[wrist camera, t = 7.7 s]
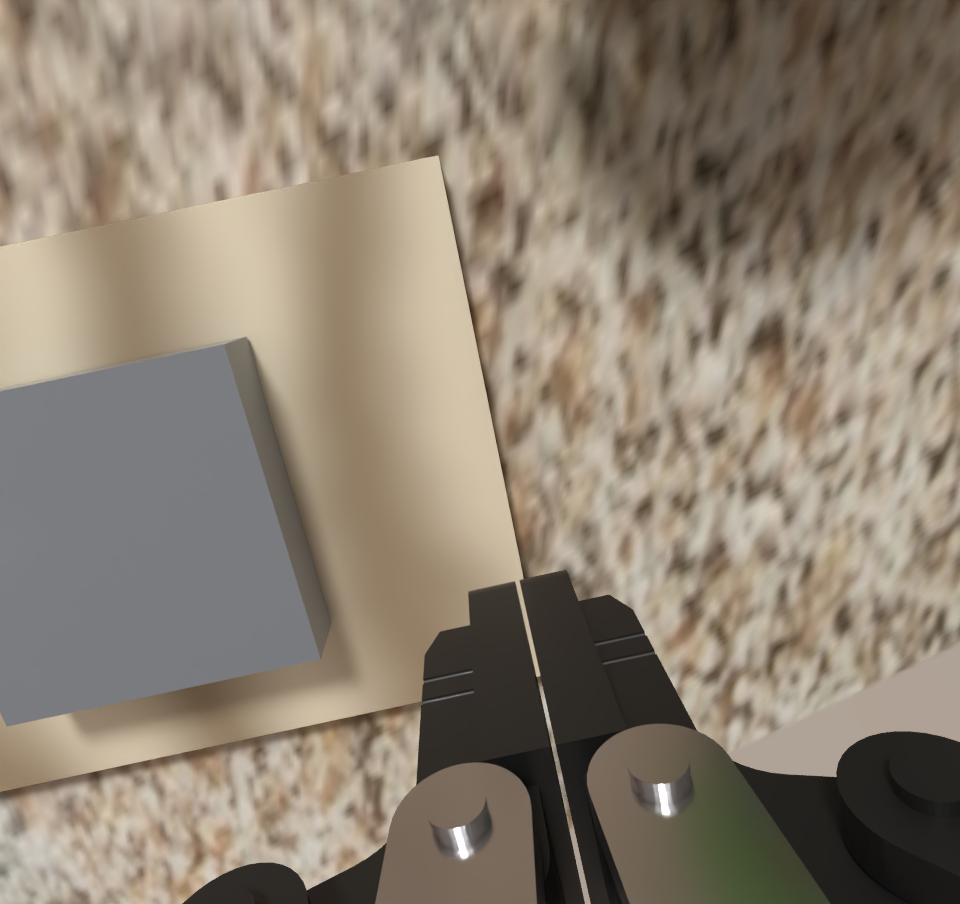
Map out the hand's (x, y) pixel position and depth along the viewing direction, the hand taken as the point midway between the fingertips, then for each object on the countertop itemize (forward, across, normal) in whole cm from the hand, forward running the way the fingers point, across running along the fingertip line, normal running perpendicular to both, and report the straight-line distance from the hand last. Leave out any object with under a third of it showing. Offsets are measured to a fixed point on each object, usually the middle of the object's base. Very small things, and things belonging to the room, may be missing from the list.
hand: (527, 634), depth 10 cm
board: (+10, +10, 0) cm, 14 cm away
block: (+9, +6, 0) cm, 10 cm away
